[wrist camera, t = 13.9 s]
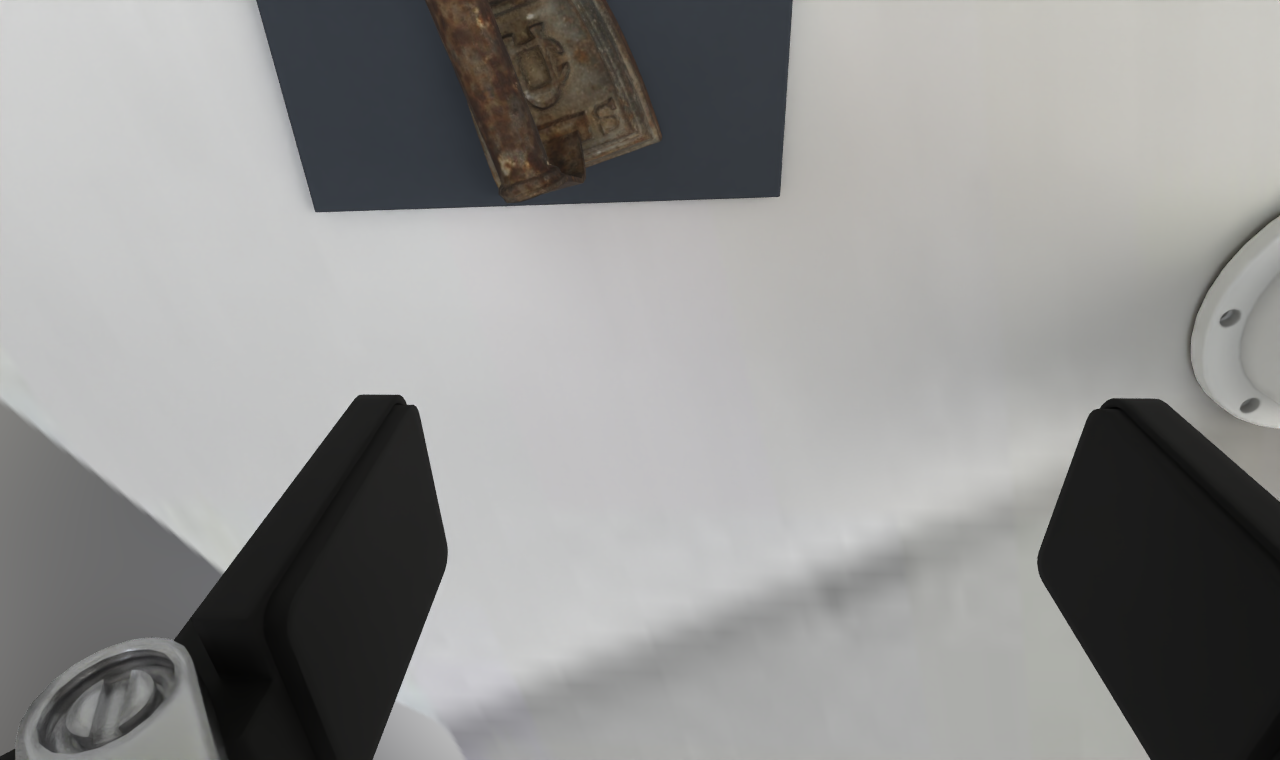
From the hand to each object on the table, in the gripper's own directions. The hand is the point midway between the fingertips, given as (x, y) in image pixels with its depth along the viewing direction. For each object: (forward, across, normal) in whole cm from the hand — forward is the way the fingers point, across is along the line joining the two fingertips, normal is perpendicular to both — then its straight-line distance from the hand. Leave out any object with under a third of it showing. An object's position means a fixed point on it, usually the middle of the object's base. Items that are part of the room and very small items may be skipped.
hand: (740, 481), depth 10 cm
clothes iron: (+22, +6, -5) cm, 23 cm away
